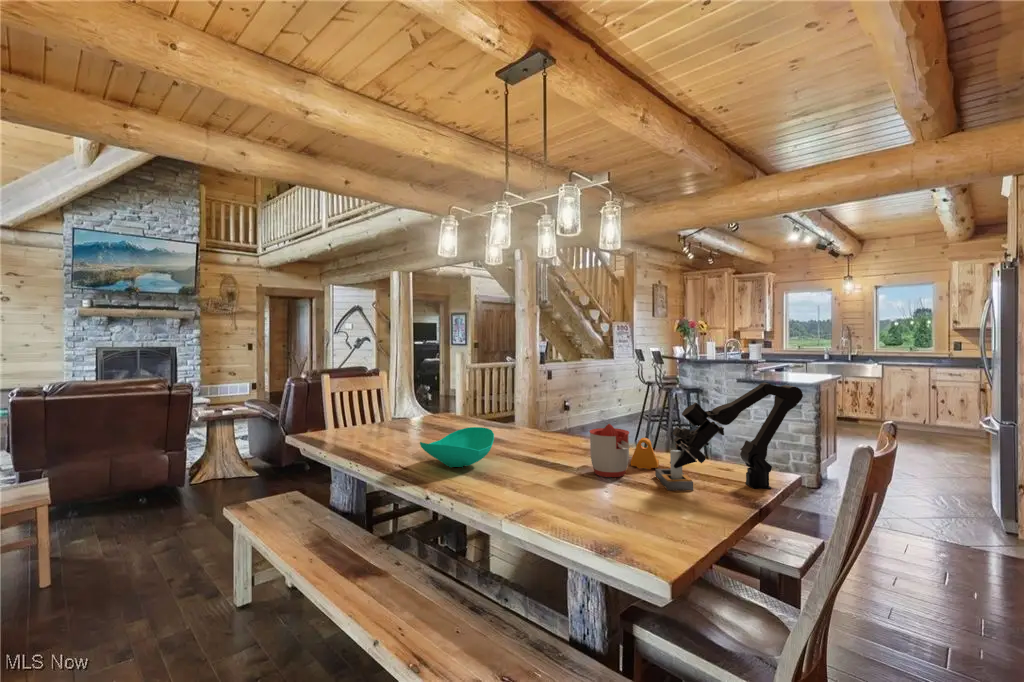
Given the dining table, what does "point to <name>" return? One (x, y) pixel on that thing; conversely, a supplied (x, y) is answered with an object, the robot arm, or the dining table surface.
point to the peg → (674, 456)
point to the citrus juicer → (609, 451)
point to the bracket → (644, 455)
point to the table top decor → (461, 446)
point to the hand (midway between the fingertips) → (672, 465)
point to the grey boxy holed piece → (673, 480)
